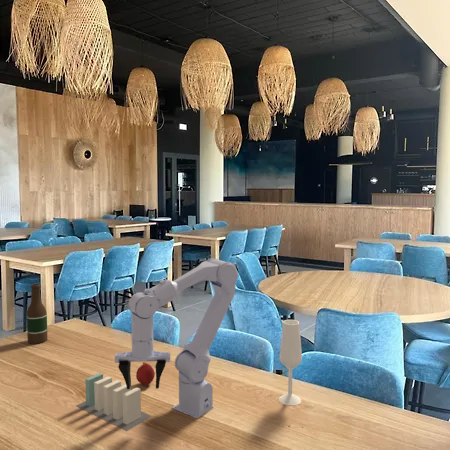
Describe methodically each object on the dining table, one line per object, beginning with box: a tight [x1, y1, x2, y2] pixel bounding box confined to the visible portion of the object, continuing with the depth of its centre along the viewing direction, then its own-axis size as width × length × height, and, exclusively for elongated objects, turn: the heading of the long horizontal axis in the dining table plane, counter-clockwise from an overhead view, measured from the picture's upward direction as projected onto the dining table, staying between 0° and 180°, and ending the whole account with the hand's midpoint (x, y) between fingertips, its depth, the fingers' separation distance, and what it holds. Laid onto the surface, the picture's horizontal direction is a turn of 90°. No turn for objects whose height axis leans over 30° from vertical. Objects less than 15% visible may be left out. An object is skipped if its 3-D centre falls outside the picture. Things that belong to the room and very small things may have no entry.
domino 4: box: [113, 383, 132, 420], centre depth 119 cm, size 2×5×8 cm, turn 144°
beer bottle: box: [26, 283, 48, 345], centre depth 178 cm, size 8×8×24 cm
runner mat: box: [75, 400, 152, 432], centre depth 122 cm, size 22×9×1 cm, turn 54°
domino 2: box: [94, 375, 113, 411], centre depth 124 cm, size 2×5×8 cm, turn 144°
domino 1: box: [85, 372, 104, 407], centre depth 126 cm, size 2×5×8 cm, turn 144°
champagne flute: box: [278, 319, 303, 406], centre depth 128 cm, size 7×7×24 cm
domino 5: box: [123, 387, 142, 425], centre depth 117 cm, size 2×5×8 cm, turn 144°
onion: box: [135, 361, 156, 387], centre depth 138 cm, size 6×6×8 cm
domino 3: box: [103, 379, 122, 415], centre depth 122 cm, size 2×5×8 cm, turn 144°
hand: (143, 387), depth 116 cm, fingers open, 7 cm apart
